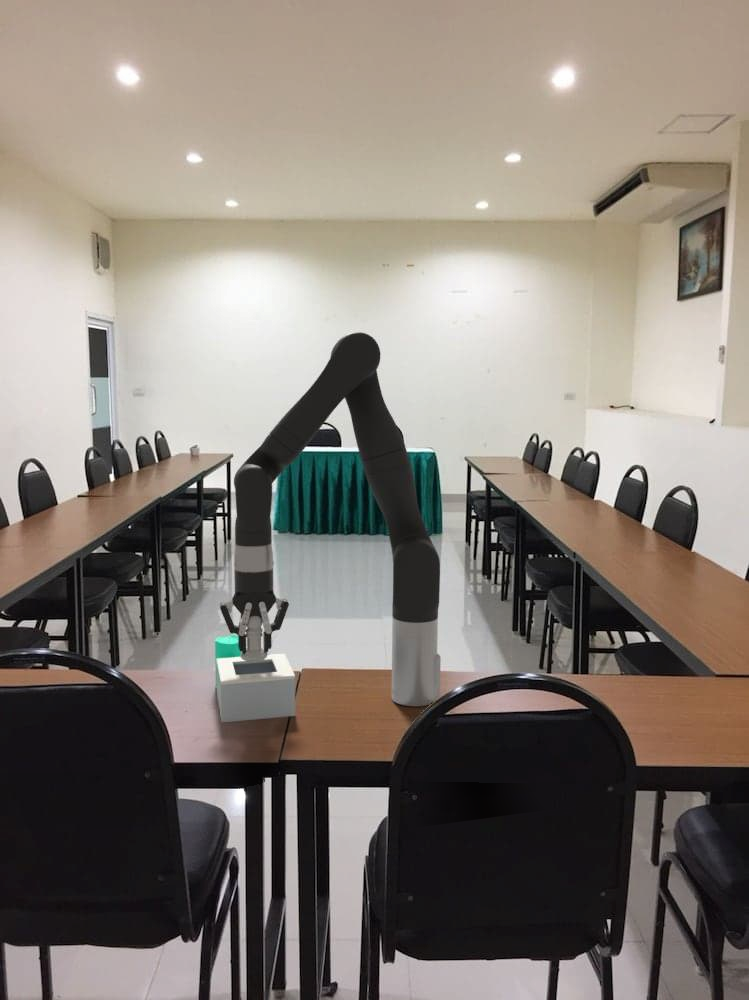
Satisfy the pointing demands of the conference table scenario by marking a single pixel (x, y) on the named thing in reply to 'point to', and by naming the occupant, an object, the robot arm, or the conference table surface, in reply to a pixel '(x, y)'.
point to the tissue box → (255, 688)
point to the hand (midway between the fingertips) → (254, 651)
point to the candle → (226, 648)
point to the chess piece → (254, 640)
